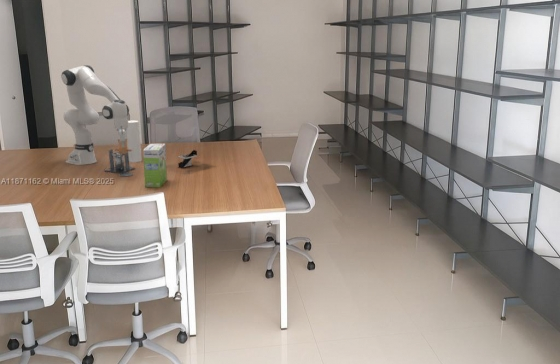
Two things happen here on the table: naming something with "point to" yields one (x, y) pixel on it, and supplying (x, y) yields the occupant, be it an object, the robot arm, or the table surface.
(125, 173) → the grey rounded piece
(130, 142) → the cylinder container
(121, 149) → the tan rounded piece
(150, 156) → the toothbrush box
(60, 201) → the table surface
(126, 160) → the grey ridged piece
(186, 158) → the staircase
